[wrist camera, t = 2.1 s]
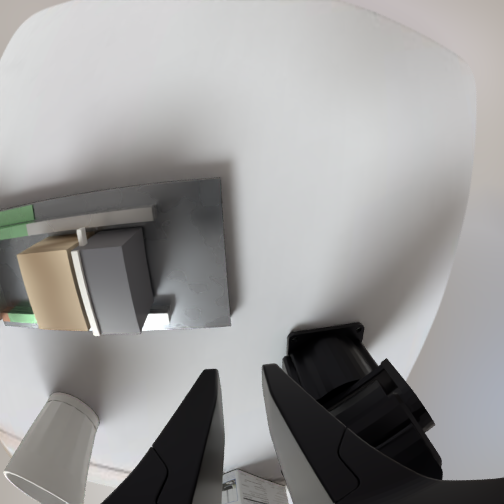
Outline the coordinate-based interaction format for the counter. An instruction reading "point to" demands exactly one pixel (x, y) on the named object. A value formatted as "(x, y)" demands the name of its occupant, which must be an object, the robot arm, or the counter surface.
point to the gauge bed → (155, 241)
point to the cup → (56, 452)
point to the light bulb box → (251, 490)
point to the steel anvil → (2, 302)
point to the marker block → (54, 283)
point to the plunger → (114, 280)
